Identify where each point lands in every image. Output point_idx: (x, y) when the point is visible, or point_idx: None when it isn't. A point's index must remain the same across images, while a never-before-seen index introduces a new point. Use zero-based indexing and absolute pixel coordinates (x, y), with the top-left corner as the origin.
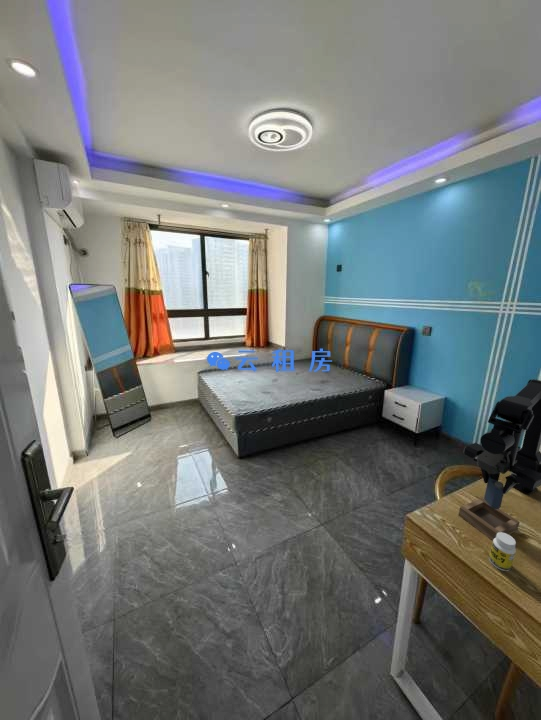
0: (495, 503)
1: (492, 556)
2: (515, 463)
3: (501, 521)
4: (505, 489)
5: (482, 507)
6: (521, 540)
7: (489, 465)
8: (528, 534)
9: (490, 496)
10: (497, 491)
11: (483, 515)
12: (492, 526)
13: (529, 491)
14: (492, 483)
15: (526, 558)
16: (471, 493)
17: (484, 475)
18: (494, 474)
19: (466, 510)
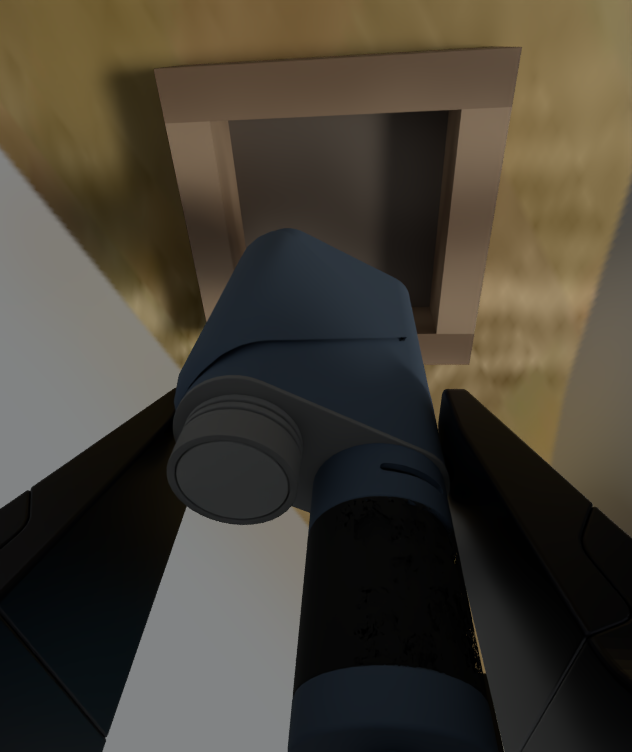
0: (248, 253)
1: None
2: None
3: None
4: (123, 439)
5: (429, 309)
6: (163, 268)
7: None
8: (190, 348)
9: (320, 284)
10: (211, 340)
11: (382, 243)
12: (286, 195)
13: None
14: (335, 423)
15: (39, 143)
16: (547, 381)
17: (512, 476)
18: (347, 615)
19: (458, 76)
